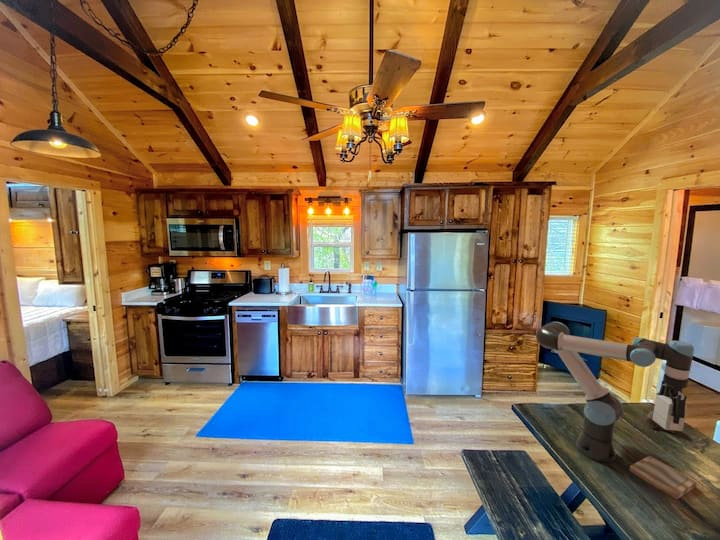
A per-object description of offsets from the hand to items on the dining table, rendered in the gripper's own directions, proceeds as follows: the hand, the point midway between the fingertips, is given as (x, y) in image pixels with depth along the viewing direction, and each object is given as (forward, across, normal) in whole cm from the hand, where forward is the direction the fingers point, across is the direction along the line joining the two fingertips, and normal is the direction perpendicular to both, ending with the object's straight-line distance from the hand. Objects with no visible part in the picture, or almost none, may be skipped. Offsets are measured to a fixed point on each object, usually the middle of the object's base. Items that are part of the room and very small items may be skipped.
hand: (667, 422), depth 139 cm
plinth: (+21, -10, +4) cm, 24 cm away
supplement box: (+2, 0, 0) cm, 2 cm away
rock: (+21, +33, -14) cm, 42 cm away
